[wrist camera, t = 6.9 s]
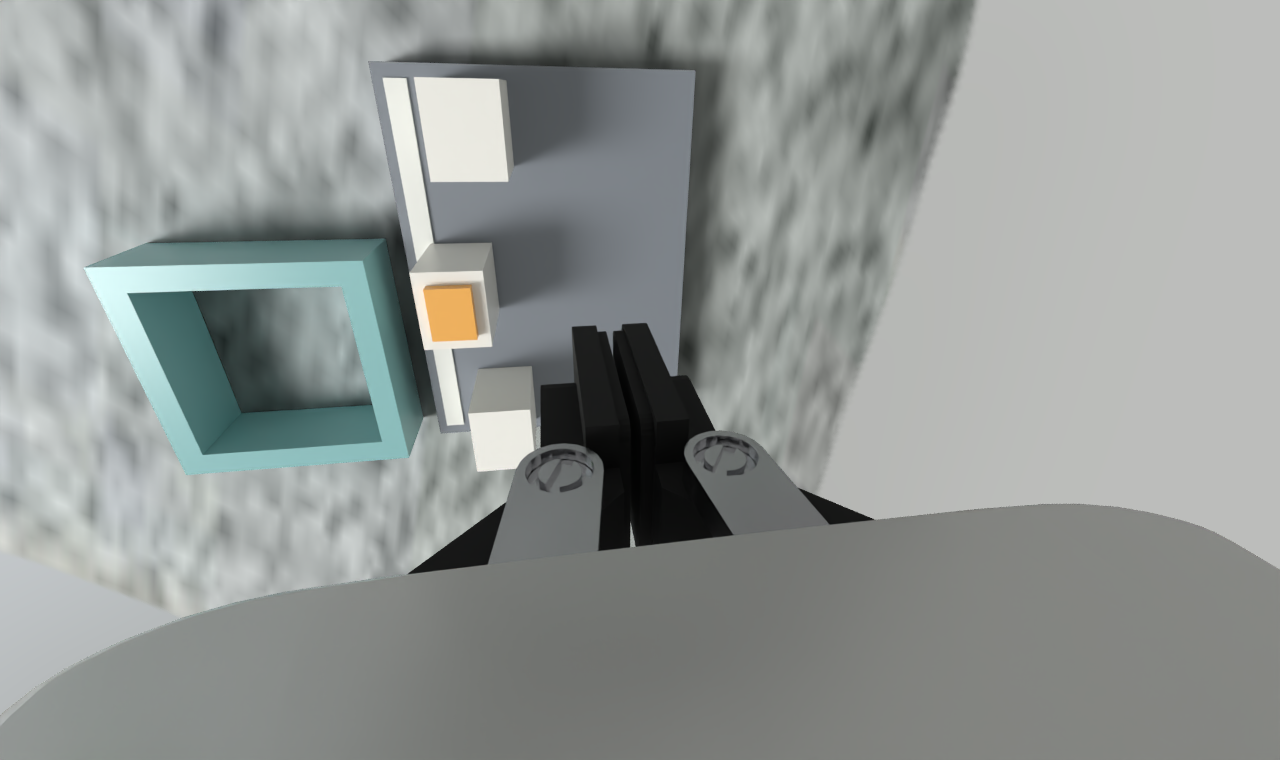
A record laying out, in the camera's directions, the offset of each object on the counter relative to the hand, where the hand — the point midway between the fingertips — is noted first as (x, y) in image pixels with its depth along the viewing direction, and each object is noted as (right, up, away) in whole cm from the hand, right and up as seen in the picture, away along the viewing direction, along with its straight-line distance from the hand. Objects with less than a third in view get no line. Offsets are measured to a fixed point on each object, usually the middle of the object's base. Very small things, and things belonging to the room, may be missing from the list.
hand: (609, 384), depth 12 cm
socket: (-15, +2, +13) cm, 20 cm away
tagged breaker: (-7, +5, +11) cm, 14 cm away
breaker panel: (-4, +6, +13) cm, 15 cm away
